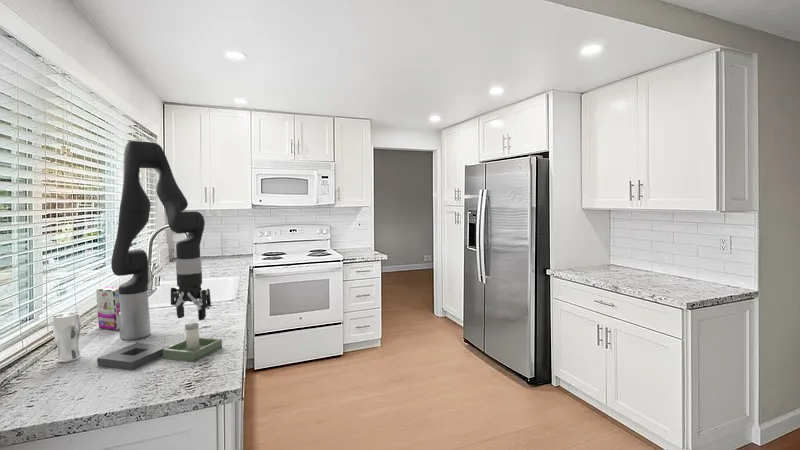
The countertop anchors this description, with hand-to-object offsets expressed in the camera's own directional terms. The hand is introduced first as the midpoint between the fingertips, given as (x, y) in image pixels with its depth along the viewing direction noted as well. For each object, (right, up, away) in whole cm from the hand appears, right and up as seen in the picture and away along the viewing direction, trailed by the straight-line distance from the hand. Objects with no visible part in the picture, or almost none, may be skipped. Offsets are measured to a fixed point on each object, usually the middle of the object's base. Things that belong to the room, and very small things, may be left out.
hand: (191, 318), depth 137 cm
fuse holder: (-17, -12, -4) cm, 21 cm away
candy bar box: (-47, -11, +30) cm, 57 cm away
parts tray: (0, -12, +1) cm, 12 cm away
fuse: (0, -11, +1) cm, 11 cm away
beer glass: (-39, -13, -3) cm, 41 cm away
